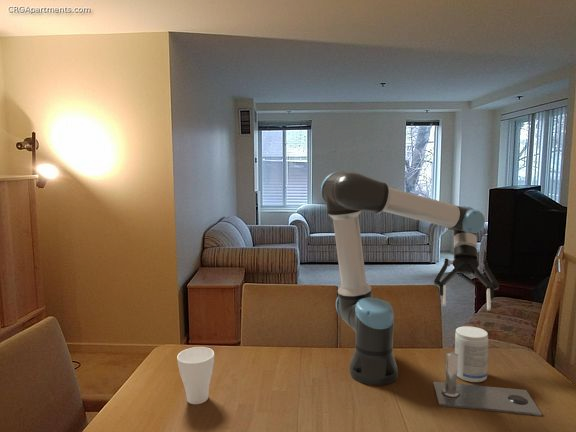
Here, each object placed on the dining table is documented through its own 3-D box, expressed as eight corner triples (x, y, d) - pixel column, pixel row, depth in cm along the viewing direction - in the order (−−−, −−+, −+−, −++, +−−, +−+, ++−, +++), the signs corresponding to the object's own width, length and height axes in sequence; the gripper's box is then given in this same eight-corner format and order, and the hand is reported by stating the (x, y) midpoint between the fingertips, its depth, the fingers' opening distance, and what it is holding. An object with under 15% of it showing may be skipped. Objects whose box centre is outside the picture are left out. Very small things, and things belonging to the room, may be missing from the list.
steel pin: (443, 396, 121) (445, 357, 120) (441, 388, 126) (442, 350, 124) (460, 398, 120) (461, 358, 119) (457, 390, 125) (458, 351, 123)
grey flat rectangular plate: (439, 405, 118) (439, 403, 118) (433, 383, 130) (433, 381, 130) (541, 415, 113) (541, 413, 113) (525, 391, 124) (526, 389, 124)
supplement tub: (493, 377, 133) (495, 333, 131) (475, 387, 127) (477, 340, 126) (465, 365, 141) (467, 323, 139) (447, 373, 135) (449, 329, 134)
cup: (222, 392, 126) (220, 349, 124) (204, 412, 116) (202, 365, 114) (191, 386, 129) (189, 344, 128) (171, 405, 120) (169, 360, 118)
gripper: (502, 254, 148) (506, 314, 138) (427, 250, 156) (426, 306, 146) (506, 245, 142) (510, 307, 132) (428, 241, 149) (426, 299, 140)
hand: (466, 307), depth 139 cm, fingers open, 13 cm apart
